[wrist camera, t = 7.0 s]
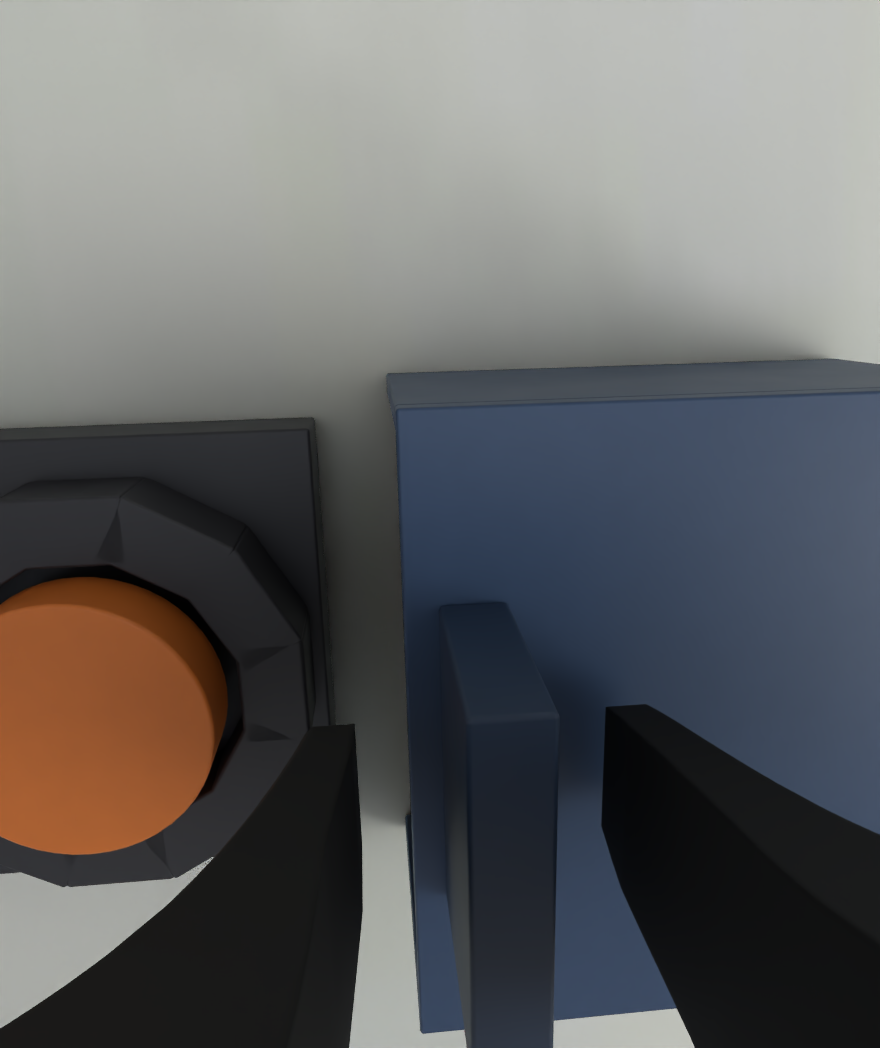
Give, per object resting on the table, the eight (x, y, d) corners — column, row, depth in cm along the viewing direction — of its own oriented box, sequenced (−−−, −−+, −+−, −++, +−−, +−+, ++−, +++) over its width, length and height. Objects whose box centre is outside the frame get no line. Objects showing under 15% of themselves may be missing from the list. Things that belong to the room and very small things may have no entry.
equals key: (-13, 816, 14) (-50, 867, 13) (-63, 582, 13) (-110, 613, 12) (239, 797, 15) (228, 845, 13) (214, 568, 13) (198, 596, 12)
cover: (405, 828, 18) (436, 1257, 10) (386, 373, 15) (407, 453, 7) (784, 798, 19) (1101, 1175, 11) (833, 358, 16) (1320, 415, 8)
